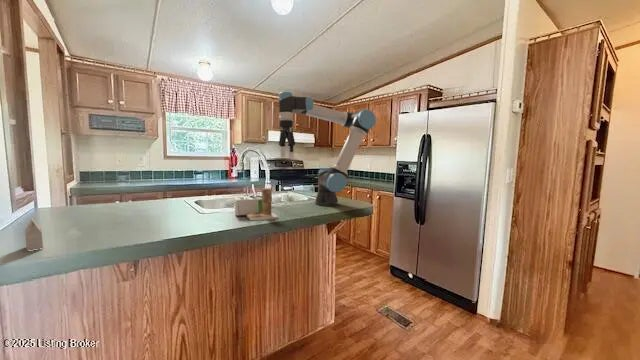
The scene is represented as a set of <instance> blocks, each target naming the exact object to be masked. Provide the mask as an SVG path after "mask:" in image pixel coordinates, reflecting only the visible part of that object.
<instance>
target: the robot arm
mask: <svg viewBox="0 0 640 360" xmlns="http://www.w3.org/2000/svg"><path fill="white" fill-rule="evenodd" d="M278 109H279V110H278V112H279V113H278V116H279V121H278V122H279V128H282V129H280V132H279V133H280V134H279V140H278V146H280V147H279V148H280V158H286V143H288V144H287V147H288V159H294V158H295V157H294V156H295V155H294V150H295V149H294V147H295V145H296V142H295V135H294V130H293V126H294V124H293V123H294V122H293V119H294V116H293V115H294V114H296V115H297V114H299V115H304V116H308V117H312V118H316V119H320V120H323V121H327V122H331V123H336V124H337V125H338V124H339V125H340V126H341V127H344V128H346V129H347V128H348V129H350V132H349V133H348V135H347V138H346V140H345V142H344V144H343V146H342V148H341V151H340V152H339V155H338V156H337V159H336V161H335V164H334V165H332V166H330V168H328V169H326V168H325V169H318V178H317V179H318V180H317V181H318V182H317V187H318V188H317V194H316V197H315V201H314V203H315V205H317V206H323V207H330V206H331V207H332V206H337V204H339V200H338V196H337V193H339V192H340V193H341V192H342V191H343V190H344V189H345V188H346V186H347V183H348V182H347V181H348V180H347V177H348V176H349V174H348V170H349V167H350V165H351V163H352V161H353V159H354V157H355V156H356V153H357V151H358V148H359V147H360V144H361V143H362V141H363V138H364V137H366V136H368V133H369V132H370V129H372V128H373V127H375V125H376V123H377V119H376V118H377V117H376V115H375V113H374V112H373V111H372V110H370V109H361V110H359V111H356V112H349V111H344V112H343V111H338V110H335V109H331V108H328V107H325V106H321V105H317V104H314V99H313V98H312V96H294V95H293V93H292V92H291V91H281V92H279V93H278ZM293 113H294V114H293ZM286 141H287V142H286Z"/></svg>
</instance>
